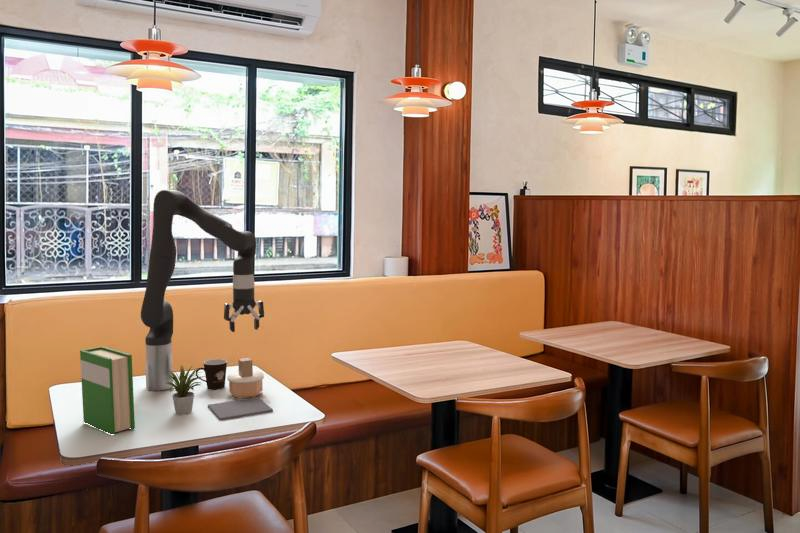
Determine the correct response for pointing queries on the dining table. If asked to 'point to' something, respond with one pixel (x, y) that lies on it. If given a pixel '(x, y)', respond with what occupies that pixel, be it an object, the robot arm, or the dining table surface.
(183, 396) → the house plant
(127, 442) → the dining table surface
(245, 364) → the lid
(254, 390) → the bowl
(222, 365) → the coffee mug
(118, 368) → the hardback book
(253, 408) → the mat
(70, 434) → the dining table surface
